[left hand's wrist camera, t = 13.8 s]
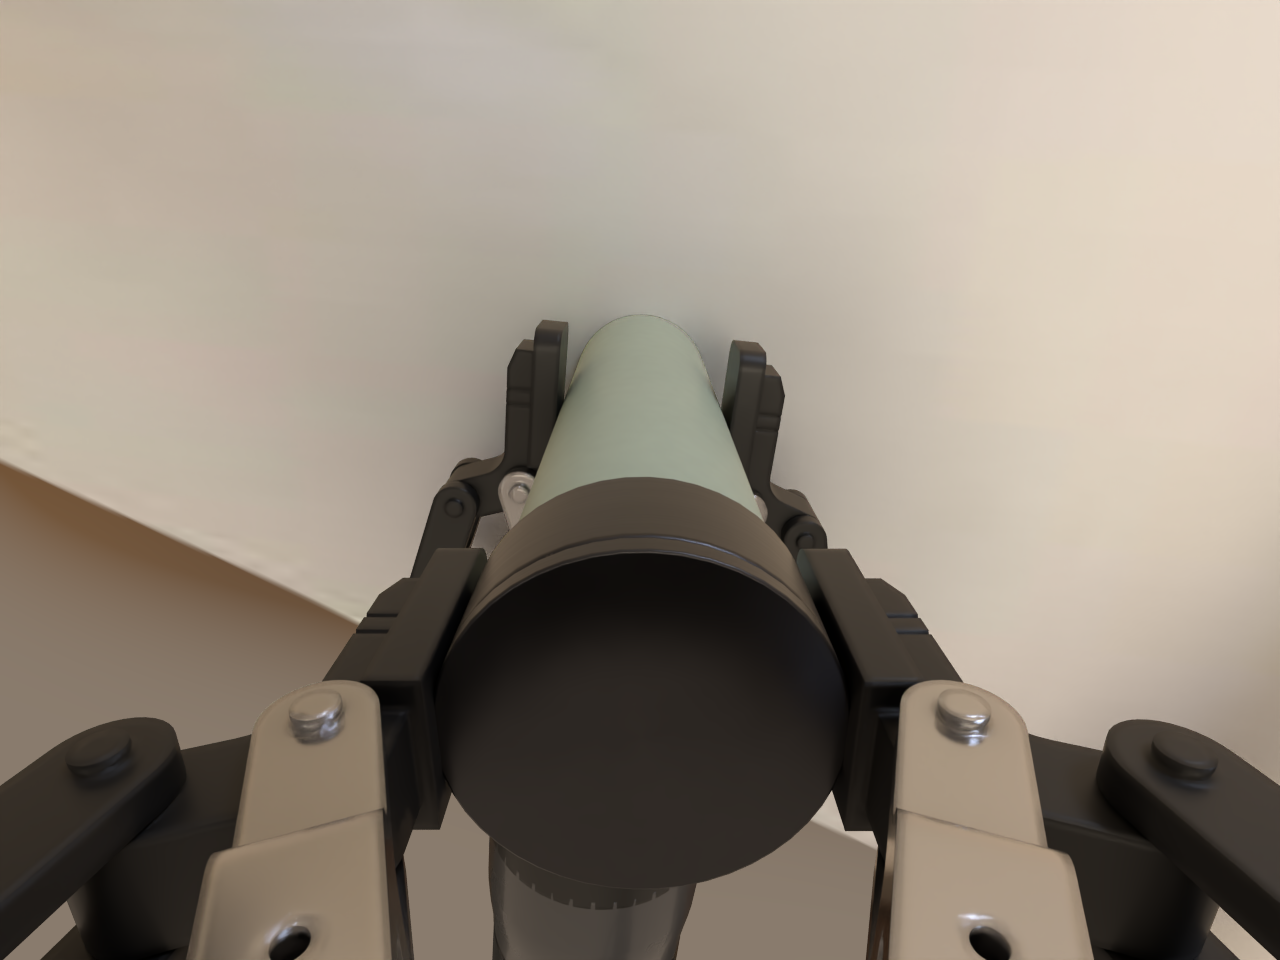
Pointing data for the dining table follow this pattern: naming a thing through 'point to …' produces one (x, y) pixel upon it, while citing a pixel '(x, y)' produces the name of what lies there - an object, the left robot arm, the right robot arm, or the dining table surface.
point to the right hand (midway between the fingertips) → (649, 338)
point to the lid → (641, 689)
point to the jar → (640, 417)
